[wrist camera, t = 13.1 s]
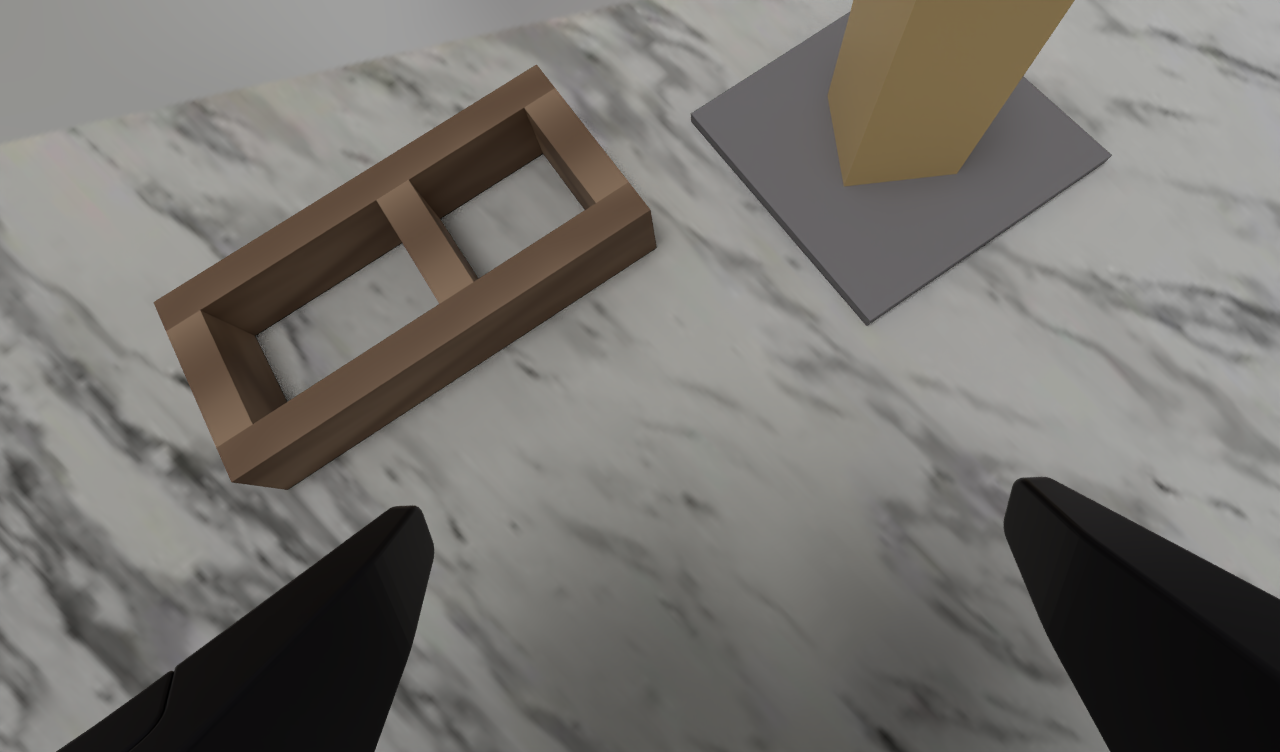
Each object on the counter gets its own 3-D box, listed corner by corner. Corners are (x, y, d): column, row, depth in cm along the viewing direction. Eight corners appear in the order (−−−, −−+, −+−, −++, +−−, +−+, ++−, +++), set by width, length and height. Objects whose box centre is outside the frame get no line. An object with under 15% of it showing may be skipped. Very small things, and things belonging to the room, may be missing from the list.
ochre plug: (956, 173, 25) (1093, -28, 16) (843, 186, 25) (917, -4, 16) (934, 82, 26) (1050, -151, 17) (827, 95, 26) (887, -126, 18)
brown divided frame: (656, 247, 26) (650, 209, 23) (287, 489, 24) (231, 482, 22) (553, 114, 28) (536, 64, 25) (212, 328, 27) (153, 302, 24)
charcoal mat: (1103, 162, 25) (1112, 155, 24) (866, 325, 24) (870, 321, 23) (904, -16, 28) (908, -26, 27) (691, 121, 27) (690, 113, 27)
